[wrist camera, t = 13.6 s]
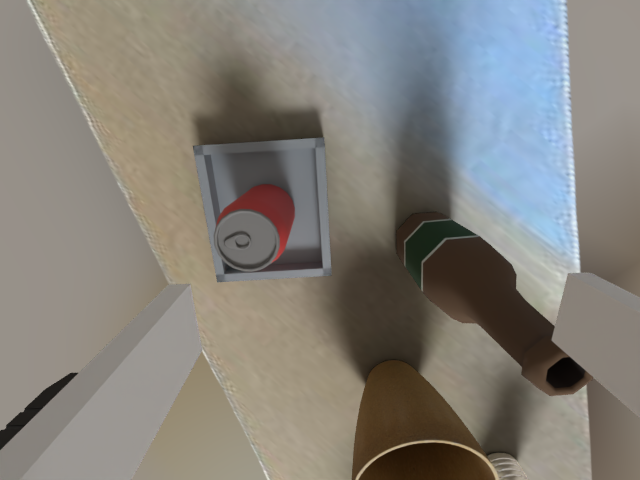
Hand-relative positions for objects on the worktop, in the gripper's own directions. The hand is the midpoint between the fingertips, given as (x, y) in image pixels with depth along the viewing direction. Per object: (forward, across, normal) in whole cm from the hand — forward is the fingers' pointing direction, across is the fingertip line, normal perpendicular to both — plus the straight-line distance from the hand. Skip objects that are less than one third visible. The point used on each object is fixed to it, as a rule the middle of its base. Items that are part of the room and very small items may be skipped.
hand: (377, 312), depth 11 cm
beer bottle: (+28, +11, -7) cm, 31 cm away
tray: (+28, -8, -2) cm, 29 cm away
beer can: (+27, -8, -2) cm, 28 cm away
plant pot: (+28, +8, -29) cm, 41 cm away
